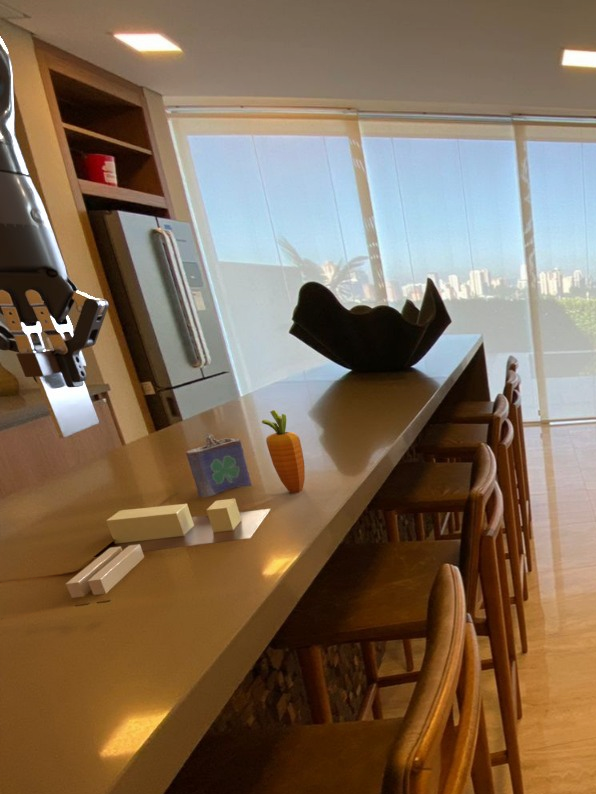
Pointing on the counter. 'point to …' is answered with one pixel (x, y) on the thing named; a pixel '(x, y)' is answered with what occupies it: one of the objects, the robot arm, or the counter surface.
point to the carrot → (286, 454)
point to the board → (201, 533)
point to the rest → (105, 572)
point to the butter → (150, 523)
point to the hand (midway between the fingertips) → (63, 386)
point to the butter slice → (224, 515)
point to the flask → (218, 466)
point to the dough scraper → (59, 392)
